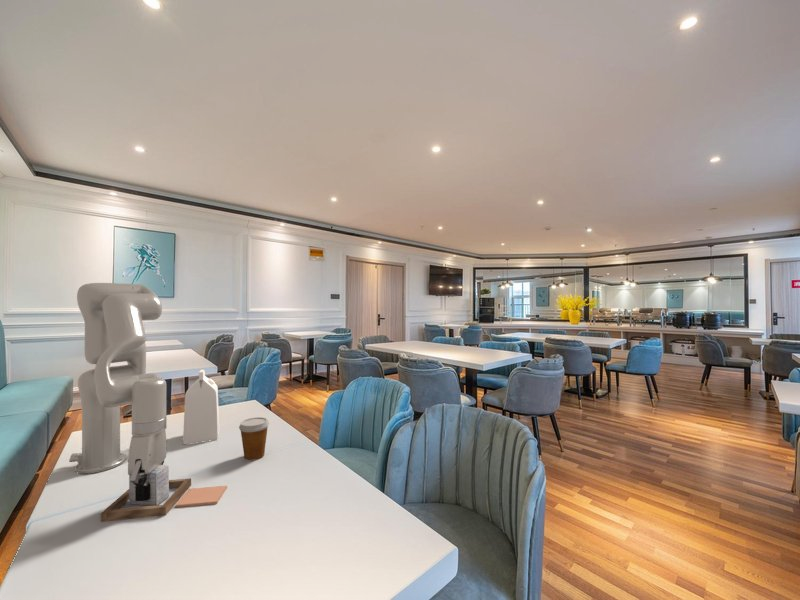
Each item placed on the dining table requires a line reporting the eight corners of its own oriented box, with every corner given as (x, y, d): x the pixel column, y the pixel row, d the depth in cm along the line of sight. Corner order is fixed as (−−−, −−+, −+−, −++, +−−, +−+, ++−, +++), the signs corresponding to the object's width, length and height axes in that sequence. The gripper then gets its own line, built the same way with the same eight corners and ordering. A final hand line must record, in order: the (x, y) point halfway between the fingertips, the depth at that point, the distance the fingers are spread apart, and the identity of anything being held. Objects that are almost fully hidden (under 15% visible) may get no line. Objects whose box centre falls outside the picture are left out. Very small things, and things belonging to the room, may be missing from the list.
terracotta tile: (175, 507, 90) (175, 505, 90) (189, 490, 98) (189, 488, 98) (216, 503, 91) (216, 501, 91) (227, 487, 99) (227, 485, 99)
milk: (187, 434, 140) (186, 369, 140) (219, 429, 145) (219, 367, 145) (182, 445, 129) (182, 375, 129) (217, 439, 134) (217, 372, 134)
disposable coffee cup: (258, 463, 114) (258, 427, 114) (232, 461, 116) (232, 425, 116) (274, 451, 123) (274, 417, 123) (250, 449, 125) (250, 416, 125)
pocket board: (100, 521, 84) (100, 513, 84) (136, 489, 98) (136, 482, 98) (165, 515, 86) (165, 507, 86) (191, 485, 101) (191, 478, 101)
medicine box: (169, 496, 94) (169, 464, 95) (156, 506, 90) (156, 472, 90) (142, 495, 95) (142, 463, 95) (128, 504, 91) (128, 471, 91)
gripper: (151, 415, 101) (151, 478, 101) (112, 439, 84) (112, 514, 84) (179, 414, 102) (179, 476, 102) (146, 437, 85) (146, 511, 85)
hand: (149, 493), depth 93 cm, fingers closed on medicine box, 5 cm apart
